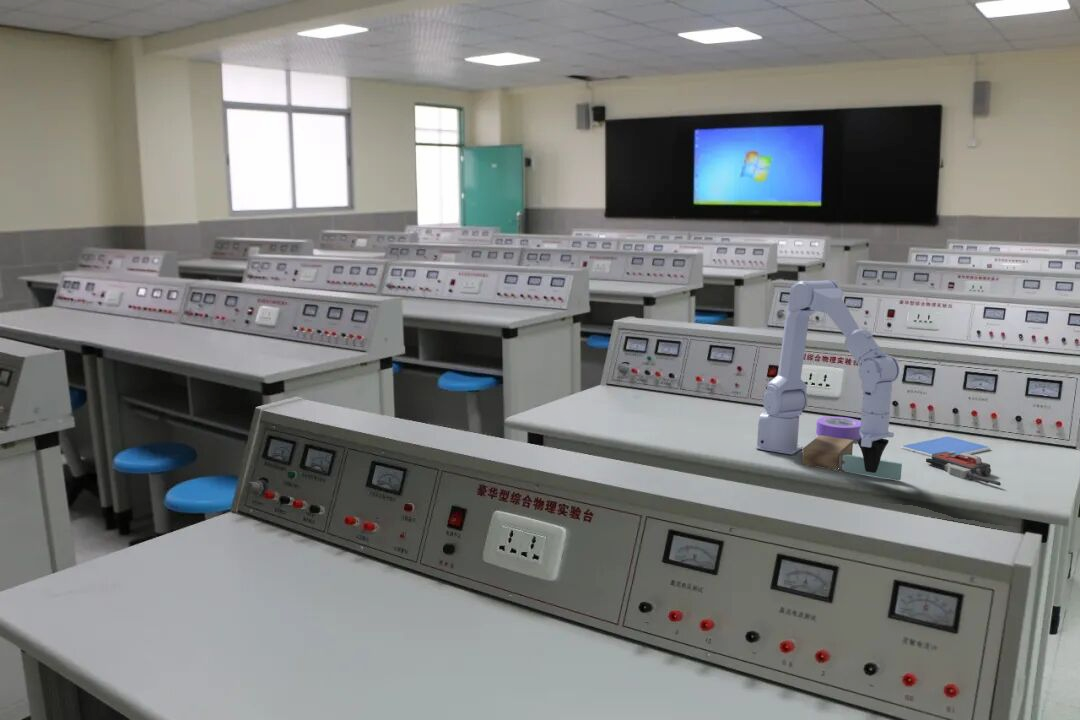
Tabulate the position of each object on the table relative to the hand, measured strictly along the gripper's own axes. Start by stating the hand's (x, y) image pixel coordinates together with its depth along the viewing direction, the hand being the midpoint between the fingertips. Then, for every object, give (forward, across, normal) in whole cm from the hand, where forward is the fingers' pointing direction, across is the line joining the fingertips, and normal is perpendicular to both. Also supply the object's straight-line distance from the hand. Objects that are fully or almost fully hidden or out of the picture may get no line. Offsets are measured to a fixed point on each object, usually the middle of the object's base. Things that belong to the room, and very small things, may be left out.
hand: (871, 471), depth 193 cm
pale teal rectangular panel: (+2, +4, +1) cm, 5 cm away
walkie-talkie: (+3, +19, -17) cm, 26 cm away
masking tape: (+3, +38, +16) cm, 41 cm away
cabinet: (+2, +12, +12) cm, 17 cm away
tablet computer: (+3, +39, -9) cm, 40 cm away
